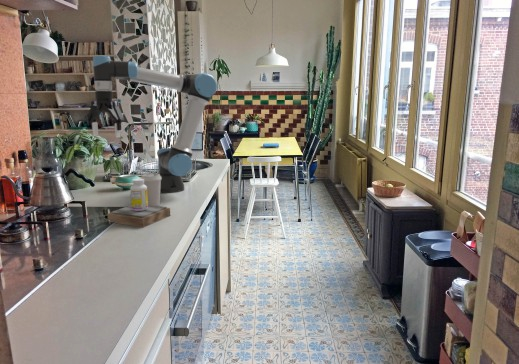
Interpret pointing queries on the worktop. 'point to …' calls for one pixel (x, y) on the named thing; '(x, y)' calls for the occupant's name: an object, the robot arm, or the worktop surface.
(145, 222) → the plinth
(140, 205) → the supplement bottle
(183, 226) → the worktop surface
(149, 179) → the coffee cup
